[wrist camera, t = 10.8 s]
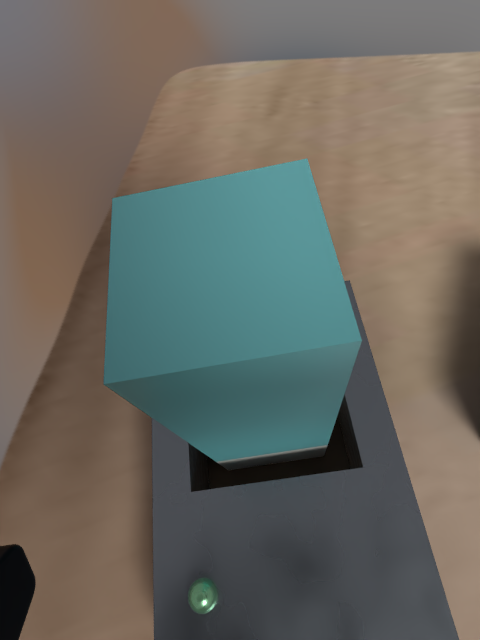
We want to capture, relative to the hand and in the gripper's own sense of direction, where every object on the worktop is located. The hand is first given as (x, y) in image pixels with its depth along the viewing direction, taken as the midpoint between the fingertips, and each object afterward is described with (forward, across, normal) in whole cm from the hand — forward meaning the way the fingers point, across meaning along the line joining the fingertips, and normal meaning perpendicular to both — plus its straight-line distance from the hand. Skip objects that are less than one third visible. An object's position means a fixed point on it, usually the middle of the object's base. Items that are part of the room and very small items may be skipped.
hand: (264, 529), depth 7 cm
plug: (+12, 0, +4) cm, 12 cm away
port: (+10, 0, +6) cm, 12 cm away
